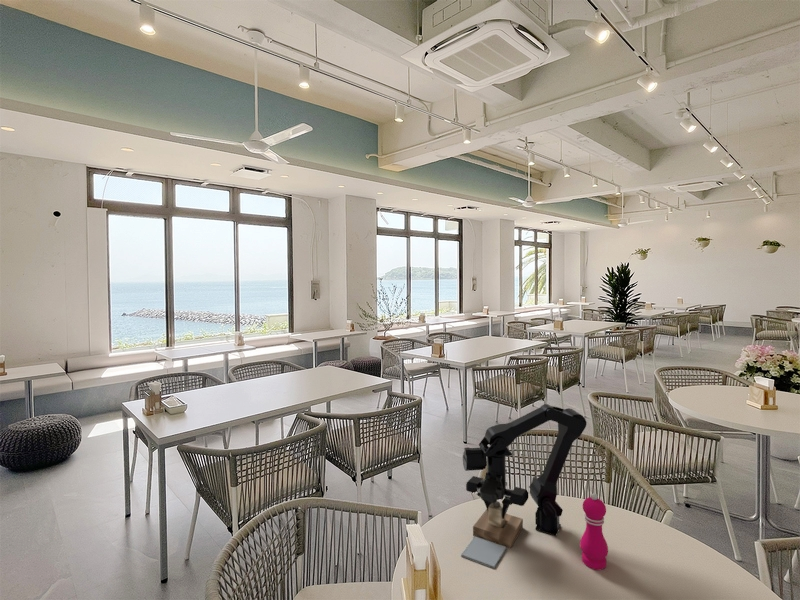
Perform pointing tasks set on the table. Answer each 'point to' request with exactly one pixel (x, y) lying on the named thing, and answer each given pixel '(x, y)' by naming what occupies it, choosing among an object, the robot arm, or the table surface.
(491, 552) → the mat
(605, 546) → the pepper mill
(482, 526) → the socket block
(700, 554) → the table surface
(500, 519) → the plug
